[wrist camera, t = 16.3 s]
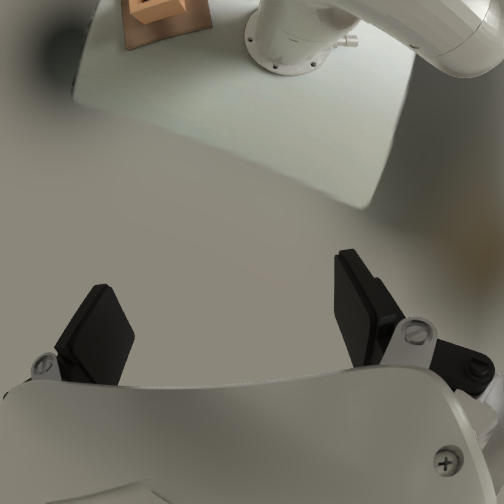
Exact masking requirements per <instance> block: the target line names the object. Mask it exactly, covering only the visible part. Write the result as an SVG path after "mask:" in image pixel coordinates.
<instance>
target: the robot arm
mask: <svg viewBox="0 0 504 504" xmlns="http://www.w3.org/2000/svg"><path fill="white" fill-rule="evenodd" d="M360 20H363V21H365V22H367V23H370V24H372V25H374V26H376V27H377V28H379V29H381V30H382V31H384V32H386V33H387V34H389V35H390V36H392V37H394V38H395V39H397V40H398V41H400V42H401V43H403V44H404V45H406V46H407V47H408V48H410V49H411V50H413V51H414V52H415V53H417V54H418V55H420V56H421V57H423V58H424V59H425V60H426V61H428V62H429V63H431V64H432V65H434V66H435V67H436V68H438V69H440V70H441V71H443V72H445V73H447V74H449V75H452V76H455V77H461V78H470V77H475V76H479V75H481V74H483V73H486V72H488V71H489V70H491V69H492V68H494V67H495V66H496V65H498V64H499V63H500V62H501V61H502V60H503V59H504V0H260V4H259V9H258V10H257V11H256V12H254V13H253V14H252V16H251V17H250V18H249V20H248V22H247V24H246V27H245V31H244V39H245V45H246V48H247V50H248V52H249V54H250V55H251V57H252V58H253V59H254V60H255V61H256V62H257V63H258V64H259V65H260V66H262V67H263V68H265V69H267V70H269V71H271V72H274V73H277V74H280V75H286V76H296V75H303V74H306V73H309V72H311V71H313V70H315V69H317V68H318V67H319V66H321V65H322V64H323V63H324V62H325V61H326V59H327V57H328V56H329V54H330V51H331V48H337V46H345V47H357V46H358V39H357V36H356V35H346V34H348V33H349V32H350V31H352V30H353V29H354V28H355V27H356V26H357V25H358V23H359V22H360ZM249 40H252V42H249ZM311 64H313V65H314V66H311ZM273 66H276V69H274V68H273ZM334 260H335V261H334V266H335V267H334V270H335V271H334V274H335V275H334V276H335V278H334V281H335V283H334V314H335V318H336V320H337V323H338V325H339V328H340V331H341V333H342V336H343V339H344V342H345V344H346V347H347V350H348V353H349V356H350V358H351V361H352V364H353V367H354V368H350V369H345V370H338V371H332V372H327V373H321V374H314V375H308V376H301V377H293V378H286V379H279V380H271V381H262V382H252V383H242V384H230V385H213V386H191V387H137V386H118V383H119V380H120V377H121V374H122V371H123V369H124V366H125V363H126V361H127V358H128V355H129V353H130V350H131V347H132V344H133V342H134V339H135V335H134V332H133V330H132V328H131V326H130V324H129V322H128V320H127V318H126V316H125V314H124V312H123V310H122V308H121V306H120V304H119V302H118V300H117V297H116V296H115V293H114V291H113V289H112V288H111V287H109V286H108V285H107V284H99V285H95V286H93V288H92V289H91V291H90V292H89V294H88V295H87V297H86V298H85V299H84V301H83V302H82V304H81V305H80V307H79V308H78V310H77V312H76V313H75V314H74V316H73V318H72V319H71V321H70V322H69V324H68V326H67V327H66V329H65V330H64V332H63V333H62V335H61V337H60V338H59V340H58V342H57V343H56V345H55V347H54V348H55V350H56V351H57V352H58V355H57V357H56V355H55V354H54V353H50V352H49V353H44V354H42V355H41V356H39V357H38V358H37V359H36V360H35V361H34V363H33V365H32V367H31V378H30V379H28V380H26V381H25V382H23V383H21V384H19V385H17V386H15V387H13V388H12V389H11V390H10V391H9V392H7V393H6V394H5V395H4V397H3V401H2V403H1V405H0V504H497V499H496V495H497V494H498V492H499V491H500V489H501V488H502V486H503V485H504V374H503V373H500V375H498V374H496V373H495V367H494V364H493V362H492V361H491V359H490V358H488V357H487V356H486V355H484V354H482V353H479V352H476V351H473V350H470V349H467V348H464V347H461V346H458V345H455V344H452V343H449V342H446V341H443V340H440V339H437V330H436V327H435V326H434V325H433V324H432V323H431V322H430V321H428V320H427V319H424V318H421V317H408V318H406V317H405V316H404V314H403V313H402V311H401V310H400V308H399V306H398V305H397V303H396V302H395V300H394V299H393V297H392V296H391V294H390V293H389V291H388V290H387V288H386V287H385V285H384V284H383V282H382V281H381V280H380V279H379V278H374V277H373V276H372V274H371V273H370V271H369V270H368V268H367V267H366V265H365V264H364V263H363V261H362V260H361V258H360V257H359V255H358V254H357V252H356V251H355V250H354V249H348V250H341V251H339V255H335V258H334ZM473 429H474V430H475V431H476V434H477V437H478V438H477V437H476V435H475V432H474V430H473ZM435 454H436V455H435Z"/></svg>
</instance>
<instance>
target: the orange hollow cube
mask: <svg viewBox="0 0 504 504" xmlns="http://www.w3.org/2000/svg"><path fill="white" fill-rule="evenodd" d="M129 7H130V14H131V15H133V16H134V17H135V18H137V19H138V20H139V21H141V22H142V23H143V24H144V25H145V24H148V23H151V22H154V21H157V20H160V19H164V18H167V17H171V16H174V15H178V14H182V13H186V8H185V2H184V0H150V1H148V0H129Z"/></svg>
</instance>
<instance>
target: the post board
mask: <svg viewBox="0 0 504 504" xmlns="http://www.w3.org/2000/svg"><path fill="white" fill-rule="evenodd" d="M148 1H150V0H148ZM184 2H185V8H186V13H182V14H178V15H174V16H171V17H167V18H164V19H160V20H157V21H154V22H151V23H148V24H145V25H144V24H143V23H142V22H141V21H139V20H138V19H137V18H135V17H134V16H133V15H131V14H130V7H129V0H121V5H122V16H123V26H124V35H125V44H126V49H127V50H132V49H135V48H138V47H140V46H143V45H146V44H149V43H153V42H156V41H159V40H162V39H166V38H169V37H173V36H177V35H181V34H185V33H189V32H193V31H198V30H202V29H207V28H212V23H211V17H210V11H209V6H208V0H184Z"/></svg>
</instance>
